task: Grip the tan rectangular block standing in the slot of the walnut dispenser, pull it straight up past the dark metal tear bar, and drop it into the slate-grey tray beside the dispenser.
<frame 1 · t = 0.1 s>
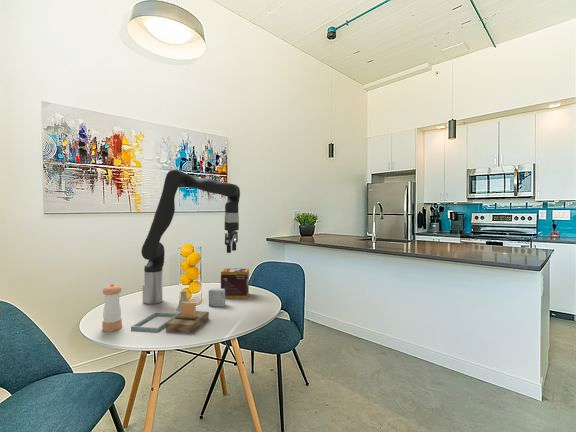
hand: (231, 251, 160), 29 cm above the table, tool pointing down, fingers open, 8 cm apart
pepper shaker: (112, 328, 130), on the table
supplement box: (235, 296, 180), on the table
tan rectangular block: (188, 325, 131), point 1 cm above the table, touching dispenser
flask: (183, 311, 152), on the table
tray: (156, 325, 133), on the table
dispenser: (188, 327, 131), on the table
grey cube: (216, 305, 162), on the table
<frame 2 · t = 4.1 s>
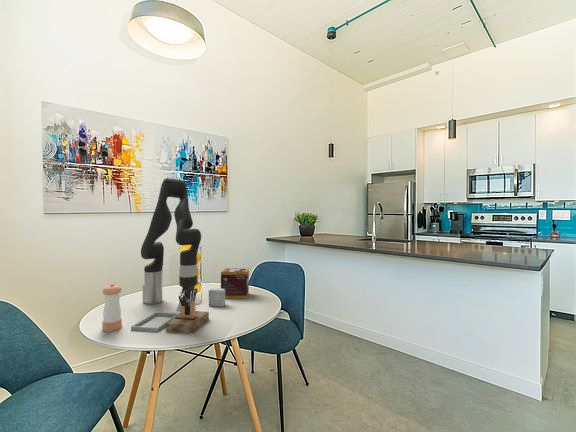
hand: (188, 313, 131), 6 cm above the table, tool pointing down, fingers closed on tan rectangular block, 1 cm apart
tan rectangular block: (187, 324, 131), point 1 cm above the table, touching gripper
everything else where it was.
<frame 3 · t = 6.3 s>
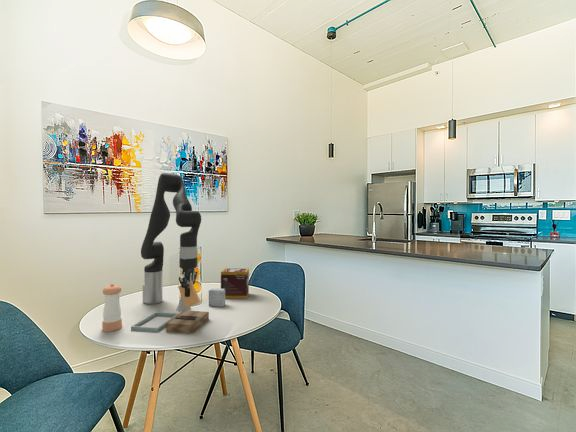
hand: (188, 295, 131), 14 cm above the table, tool pointing down, fingers closed on tan rectangular block, 1 cm apart
tan rectangular block: (193, 304, 131), point 10 cm above the table, tilted 25°, touching gripper
everything else where it was.
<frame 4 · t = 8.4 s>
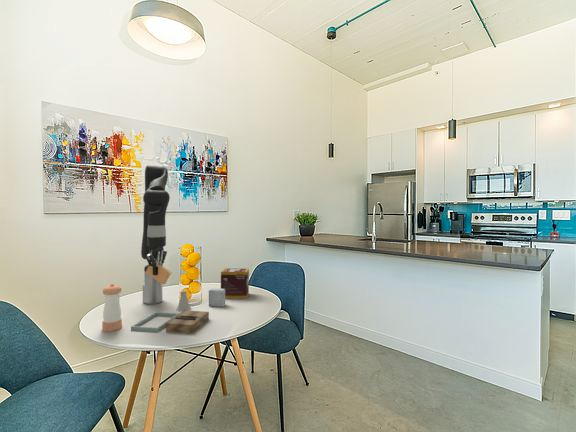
hand: (156, 274, 133), 23 cm above the table, tool pointing down, fingers closed on tan rectangular block, 1 cm apart
tan rectangular block: (167, 278, 132), point 21 cm above the table, tilted 60°, touching gripper
everything else where it was.
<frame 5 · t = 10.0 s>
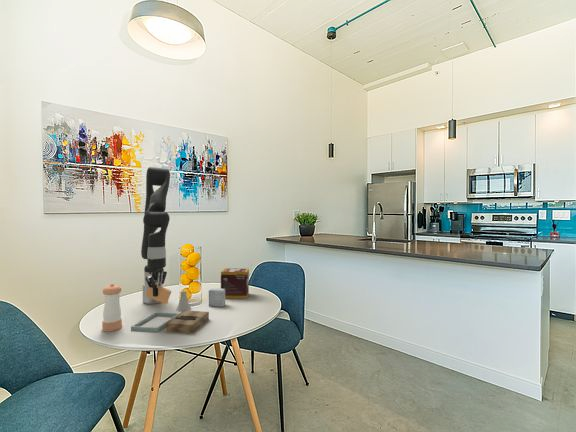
hand: (156, 295, 133), 13 cm above the table, tool pointing down, fingers closed on tan rectangular block, 1 cm apart
tan rectangular block: (168, 297, 132), point 13 cm above the table, tilted 71°, touching gripper
everything else where it was.
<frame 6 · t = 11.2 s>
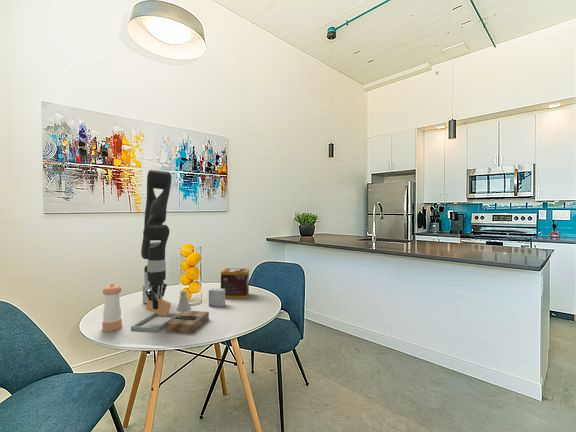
hand: (156, 308, 133), 8 cm above the table, tool pointing down, fingers closed on tan rectangular block, 1 cm apart
tan rectangular block: (168, 309, 132), point 7 cm above the table, tilted 75°, touching gripper
everything else where it was.
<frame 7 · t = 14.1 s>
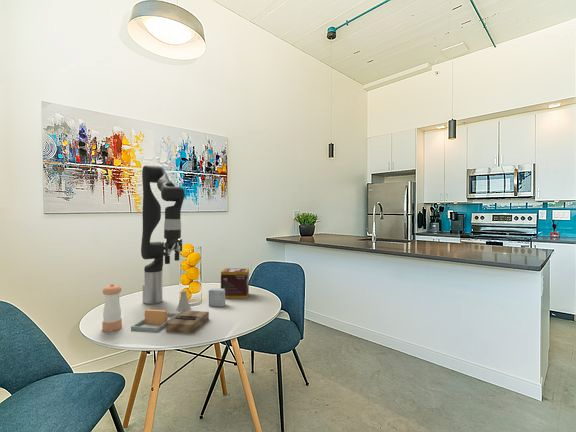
hand: (172, 262, 144), 26 cm above the table, tool pointing down, fingers open, 8 cm apart
tan rectangular block: (166, 317, 133), point 4 cm above the table, tilted 90°, touching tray
everything else where it was.
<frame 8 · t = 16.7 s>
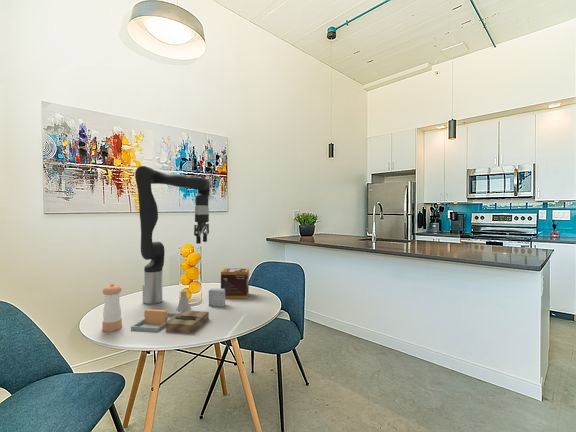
hand: (201, 242, 168), 33 cm above the table, tool pointing down, fingers open, 8 cm apart
nothing on the table moved.
at the end: tan rectangular block inside the target area on the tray (4.6 cm from its centre), point 3.6 cm above the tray's base; the gripper is holding nothing; tan rectangular block touching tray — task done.
